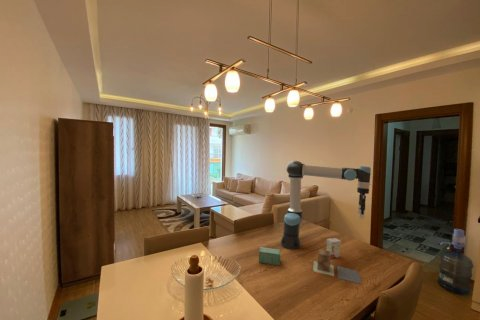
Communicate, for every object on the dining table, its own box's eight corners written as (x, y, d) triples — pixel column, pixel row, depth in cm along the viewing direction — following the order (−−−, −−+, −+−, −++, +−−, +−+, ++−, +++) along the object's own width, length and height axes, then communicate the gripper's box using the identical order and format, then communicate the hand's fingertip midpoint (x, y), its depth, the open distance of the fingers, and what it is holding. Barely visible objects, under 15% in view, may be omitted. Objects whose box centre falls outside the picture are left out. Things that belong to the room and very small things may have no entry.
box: (279, 265, 134) (280, 254, 133) (258, 262, 136) (259, 251, 136) (279, 260, 141) (280, 249, 141) (259, 257, 143) (260, 246, 143)
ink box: (330, 258, 146) (331, 241, 145) (325, 255, 150) (326, 238, 150) (340, 257, 148) (341, 240, 148) (335, 253, 153) (336, 237, 152)
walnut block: (317, 269, 131) (318, 253, 130) (317, 263, 137) (318, 248, 137) (329, 272, 128) (330, 256, 128) (329, 266, 135) (330, 251, 134)
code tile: (312, 271, 129) (312, 270, 129) (313, 261, 141) (313, 260, 141) (334, 276, 125) (334, 276, 125) (333, 265, 137) (333, 265, 137)
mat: (338, 278, 123) (338, 278, 123) (336, 266, 136) (336, 266, 136) (361, 284, 118) (361, 283, 118) (358, 271, 131) (358, 271, 131)
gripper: (371, 190, 142) (368, 222, 143) (367, 185, 164) (364, 212, 165) (358, 189, 145) (356, 219, 146) (356, 184, 167) (354, 211, 168)
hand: (360, 216), depth 156 cm, fingers open, 13 cm apart
